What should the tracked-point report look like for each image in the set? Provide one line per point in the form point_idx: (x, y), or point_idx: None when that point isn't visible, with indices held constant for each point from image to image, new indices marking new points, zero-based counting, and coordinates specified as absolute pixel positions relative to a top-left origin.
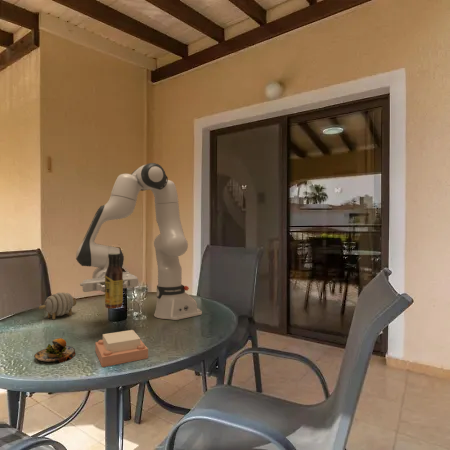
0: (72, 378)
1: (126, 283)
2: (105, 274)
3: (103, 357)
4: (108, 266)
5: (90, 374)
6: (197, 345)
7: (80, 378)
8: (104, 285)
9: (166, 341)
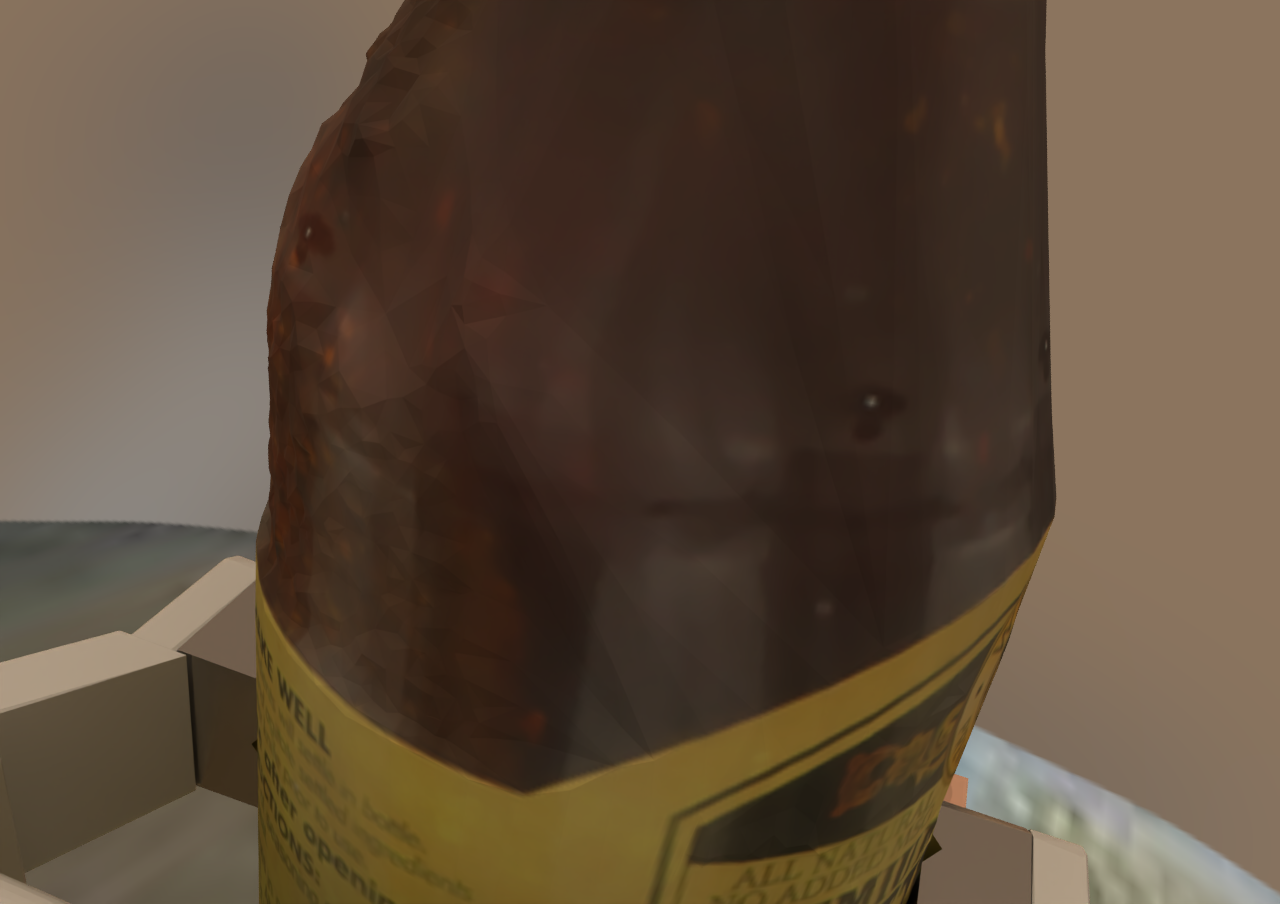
0: (1190, 850)
1: (236, 559)
2: (1053, 457)
3: (955, 777)
4: (1042, 11)
5: (1053, 809)
6: (76, 601)
7: (1131, 809)
8: (960, 808)
9: (88, 855)
